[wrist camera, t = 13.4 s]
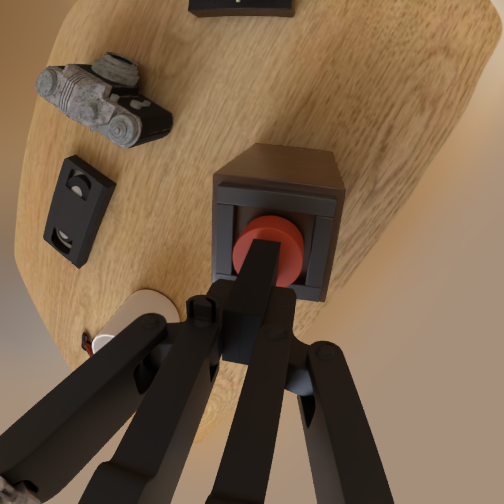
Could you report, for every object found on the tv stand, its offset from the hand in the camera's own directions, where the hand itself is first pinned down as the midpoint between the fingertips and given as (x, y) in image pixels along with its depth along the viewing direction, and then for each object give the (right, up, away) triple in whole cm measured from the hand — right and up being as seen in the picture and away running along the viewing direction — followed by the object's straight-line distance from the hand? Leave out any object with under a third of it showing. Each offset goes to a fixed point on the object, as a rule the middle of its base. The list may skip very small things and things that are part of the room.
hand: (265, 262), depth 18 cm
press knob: (0, +1, +2) cm, 2 cm away
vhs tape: (-25, +6, +22) cm, 34 cm away
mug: (-16, -9, +28) cm, 34 cm away
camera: (-15, +19, +14) cm, 28 cm away
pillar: (+3, +8, +16) cm, 18 cm away
